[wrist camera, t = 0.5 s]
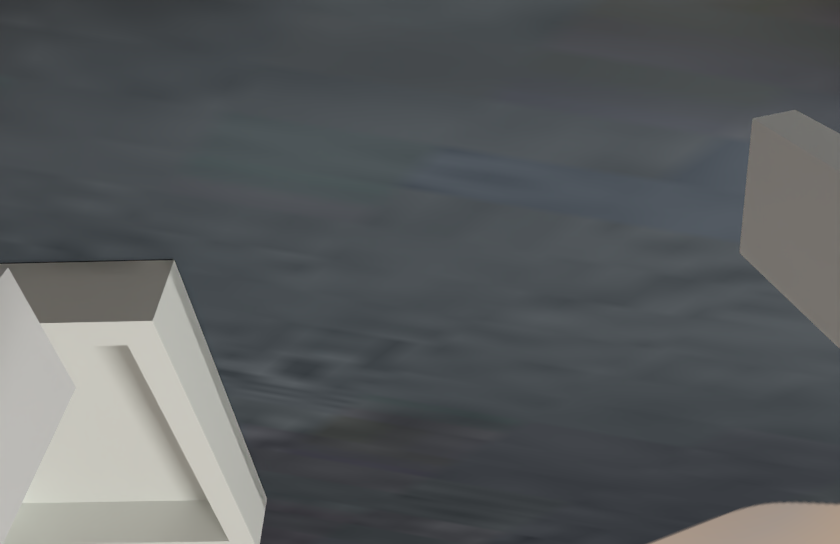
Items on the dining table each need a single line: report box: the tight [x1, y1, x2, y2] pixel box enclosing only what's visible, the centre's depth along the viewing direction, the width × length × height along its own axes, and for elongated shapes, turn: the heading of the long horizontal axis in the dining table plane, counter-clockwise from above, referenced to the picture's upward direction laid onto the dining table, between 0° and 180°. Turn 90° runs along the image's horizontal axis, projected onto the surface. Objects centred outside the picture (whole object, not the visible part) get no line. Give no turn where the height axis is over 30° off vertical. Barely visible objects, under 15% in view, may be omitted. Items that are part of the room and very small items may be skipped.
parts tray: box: [0, 260, 267, 544], centre depth 37 cm, size 22×17×4 cm
